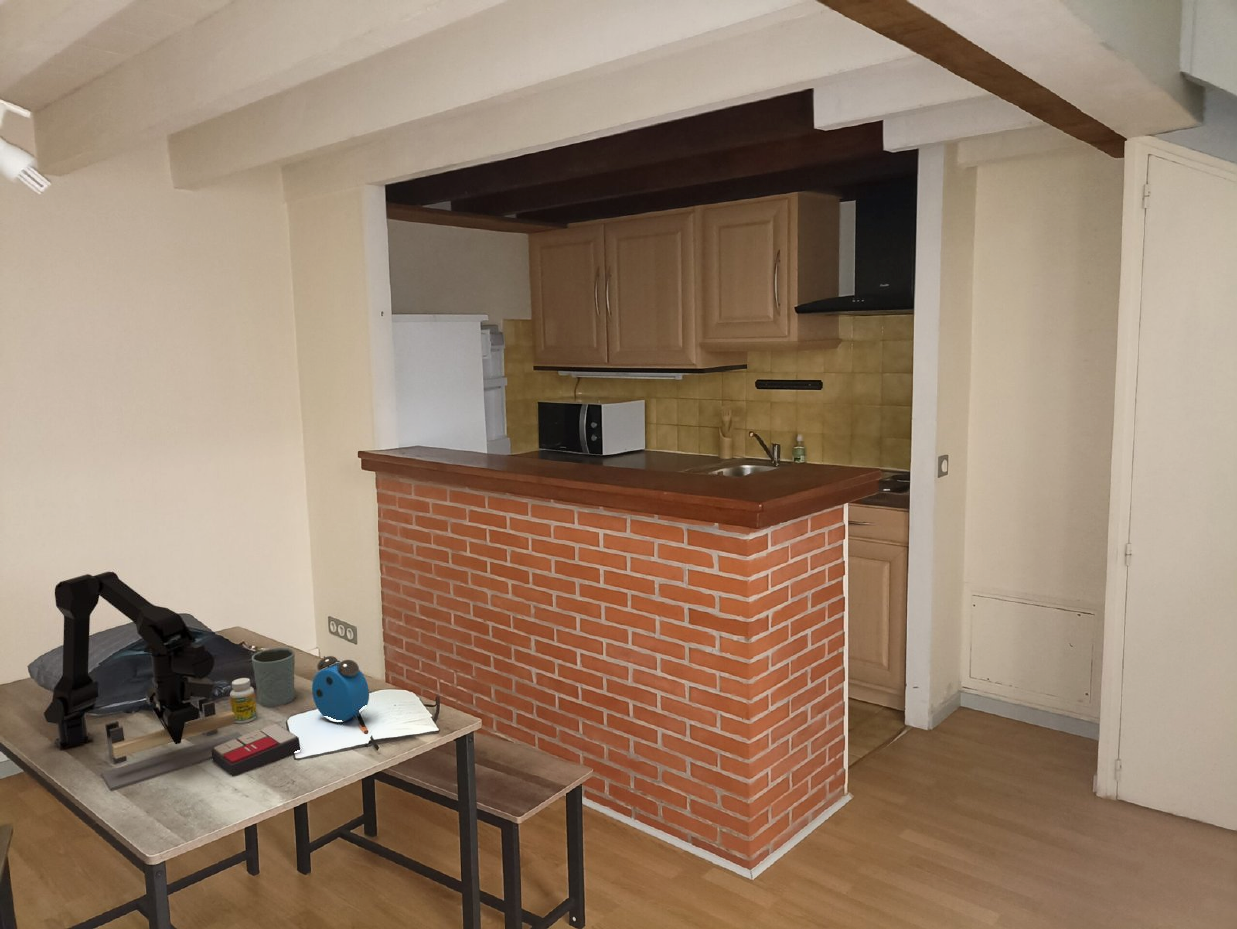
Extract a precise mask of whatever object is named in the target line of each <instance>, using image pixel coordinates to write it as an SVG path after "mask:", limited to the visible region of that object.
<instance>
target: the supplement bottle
mask: <svg viewBox="0 0 1237 929" xmlns="http://www.w3.org/2000/svg"><path fill="white" fill-rule="evenodd" d="M231 688H232V690H231V691H230V693H229V696H230V706H231V711H232V712H233V713H234V716H235V724H246V723H250V722H253V721H254V720H255V719H256V718H257V717H258V715H257V714H258V712H257V705H256V704H257V703H256V697H255V696H256V695H255V689H254V687H252V686H251V680H250V678H248V677H241V678H237V679H234V680H232V682H231Z"/></svg>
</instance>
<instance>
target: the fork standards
mask: <svg viewBox="0 0 1237 929" xmlns="http://www.w3.org/2000/svg"><path fill="white" fill-rule="evenodd" d="M196 702H197V708H198V709H199V713H200V718H198V720H199V719H202V718H206V717H209V716H213V715H216V714H217V713H216V706H215V702H214V701H213V700H212V701H210V698H205V697H198V698H196ZM104 725H105V731H106V739H107V748H108V755H109V758H110V759H111V761H112V762H113V764H114V765H115V764H120V763H122V762H123V763H124V762H126V761H127V759H128V758H127V756H124V757H120V758H117V759H115V758H114V756H113V752H112V744H114V743H118V742H121V741H125V733H124V728H123V726H122V725H121V726H120V724H119V721H118V720H116V721H112V722H108V723H105V724H104ZM218 732H219V731H218V729H216V730H212V731H209V732H205V733H203V734H204V735H205V736H206V737H210V736H213V735H215V734H216V735H217V734H218Z"/></svg>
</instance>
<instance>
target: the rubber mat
mask: <svg viewBox="0 0 1237 929" xmlns="http://www.w3.org/2000/svg"><path fill="white" fill-rule="evenodd" d="M241 736H243V735H242V734H241V733H240V732H239V731H236V732H232V733H229V734H226V735H223V736H219V737H215V738H212V739H209V740H206V741H202V742H199V743H196V744H193V745H190V746H186V747H183V748H179V749H176V750H172V751H169V752H166V753H162V754H159V755H156V756H153V757H149V758H145V759H142V760H139V761H136V762H132V763H130V764H126V765H123V766H119V767H115V768H113V769H110V770H109V769H108V770H106V771H103V772H101V773H100V775H101V778H103V781H104V782H105V783H106V785H107V787H108V788H109V790H110V791H115V790H119V789H122V788H124V787H128V786H131V785H134V784H137V783H140V782H144V781H147V780H150V779H154V778H157V777H159V776H162V775H163V776H164V775H166V774H169V773H173V772H175V771H178V770H183V769H185V768H188V767H191V766H195V765H197V764H201V763H204V762H206V761H211V760H213V759H212V753H211V750H212V749H214V747H215V746H218V745H221V744H223V743H226V742H228V741H231V740H234V739H236V740H238V738H239V737H241Z"/></svg>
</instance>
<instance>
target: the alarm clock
mask: <svg viewBox="0 0 1237 929" xmlns="http://www.w3.org/2000/svg"><path fill="white" fill-rule="evenodd" d="M316 667H317V671H318V672H317V673H316V674H315V675H314V678H313V680H312V686H311V691H312V692H311V693H312V698H313V702H314V704H315V706H316V708H317V710H318V712H320V714H321V715H322V717H324V716H328V717H331V718H333V719H336V720H342V721H344V722H346V721H348V720H350V719H351V718H354V717H356V716H357V715H358V714H359V710H360V709H361V708H362V707H363V706H365V705H367V706H368V703H369V701H370V689H369V685H368V682H367V680H366V677H365V676H364V674H363V672H362V671H361V670H360V667H359V665H358V663H357V662H356V661H355V660H352V659H343V660H342V661H340V660H338V658H337V657H336V656H334V655H327V656H325V655H324V656H323V658H321V659H320V660H319V661H318V663H317V665H316Z"/></svg>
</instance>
